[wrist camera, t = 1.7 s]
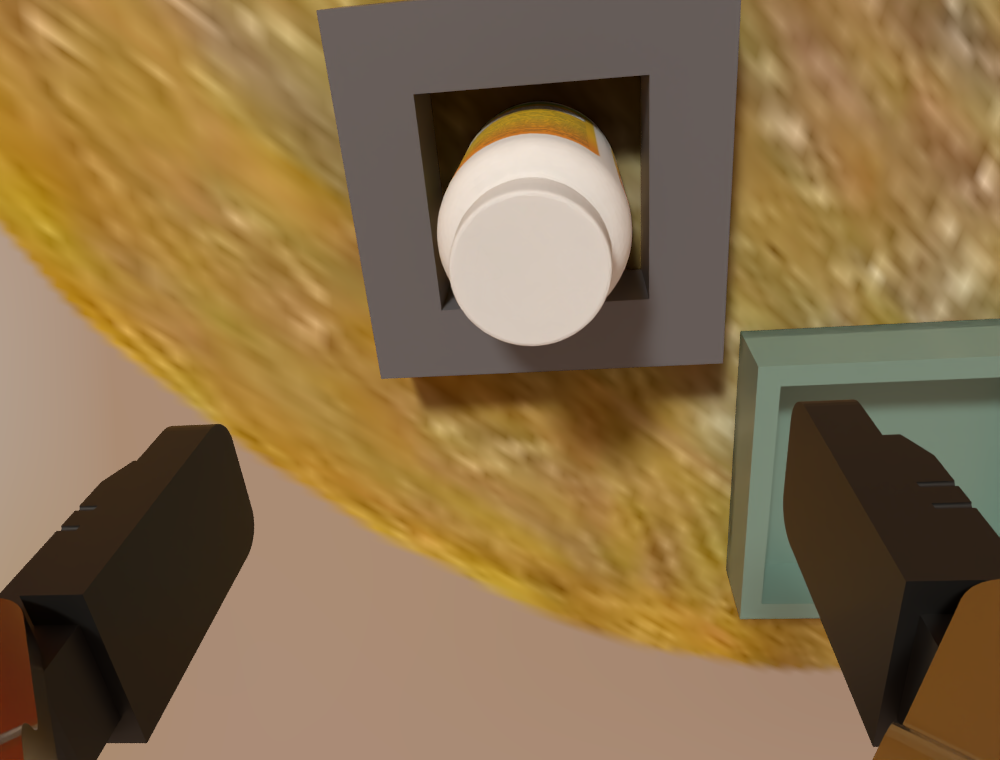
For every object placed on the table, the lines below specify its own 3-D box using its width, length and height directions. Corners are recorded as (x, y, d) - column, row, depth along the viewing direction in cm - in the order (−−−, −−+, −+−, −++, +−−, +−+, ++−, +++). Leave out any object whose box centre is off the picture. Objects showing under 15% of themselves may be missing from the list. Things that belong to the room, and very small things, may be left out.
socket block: (722, -30, 24) (742, -31, 21) (708, 328, 29) (722, 363, 27) (342, 7, 25) (316, 10, 22) (397, 343, 30) (381, 378, 28)
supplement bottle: (431, 168, 27) (371, 256, 19) (552, 63, 25) (547, 106, 17) (528, 281, 29) (514, 410, 20) (648, 191, 27) (688, 290, 18)
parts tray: (1069, 315, 28) (1122, 350, 25) (1002, 564, 33) (1040, 615, 31) (740, 331, 29) (758, 366, 27) (726, 569, 34) (739, 619, 32)
